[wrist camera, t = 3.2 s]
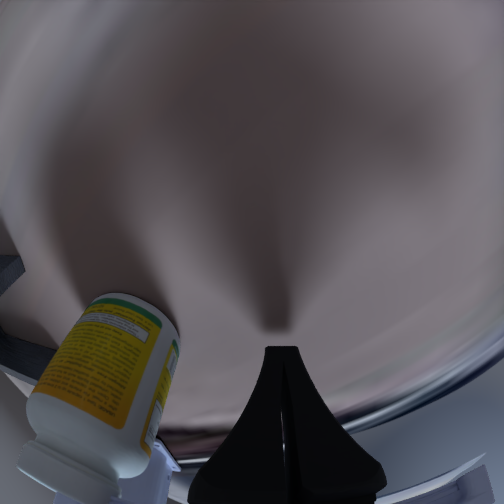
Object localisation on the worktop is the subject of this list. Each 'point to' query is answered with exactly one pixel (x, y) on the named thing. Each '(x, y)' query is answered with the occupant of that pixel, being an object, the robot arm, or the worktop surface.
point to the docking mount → (15, 350)
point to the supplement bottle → (101, 400)
